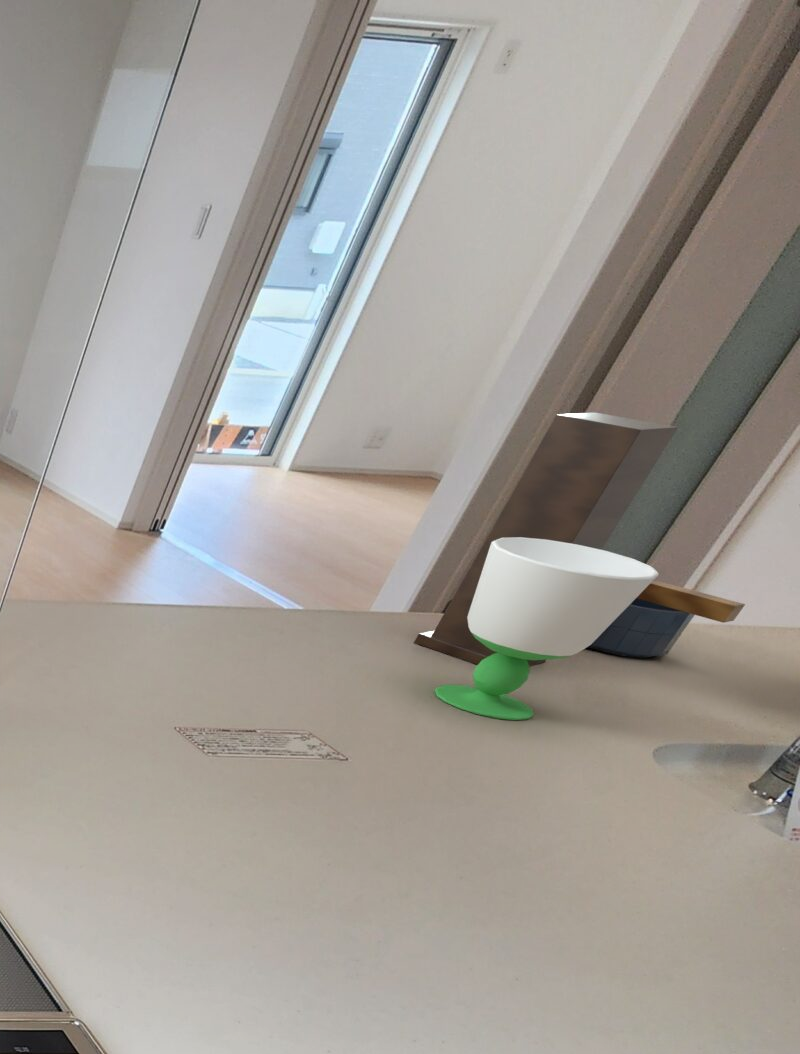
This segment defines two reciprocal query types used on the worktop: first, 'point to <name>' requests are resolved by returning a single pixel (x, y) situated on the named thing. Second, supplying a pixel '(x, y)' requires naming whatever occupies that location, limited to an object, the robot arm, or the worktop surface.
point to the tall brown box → (561, 503)
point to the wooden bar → (691, 601)
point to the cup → (540, 614)
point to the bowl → (643, 630)
